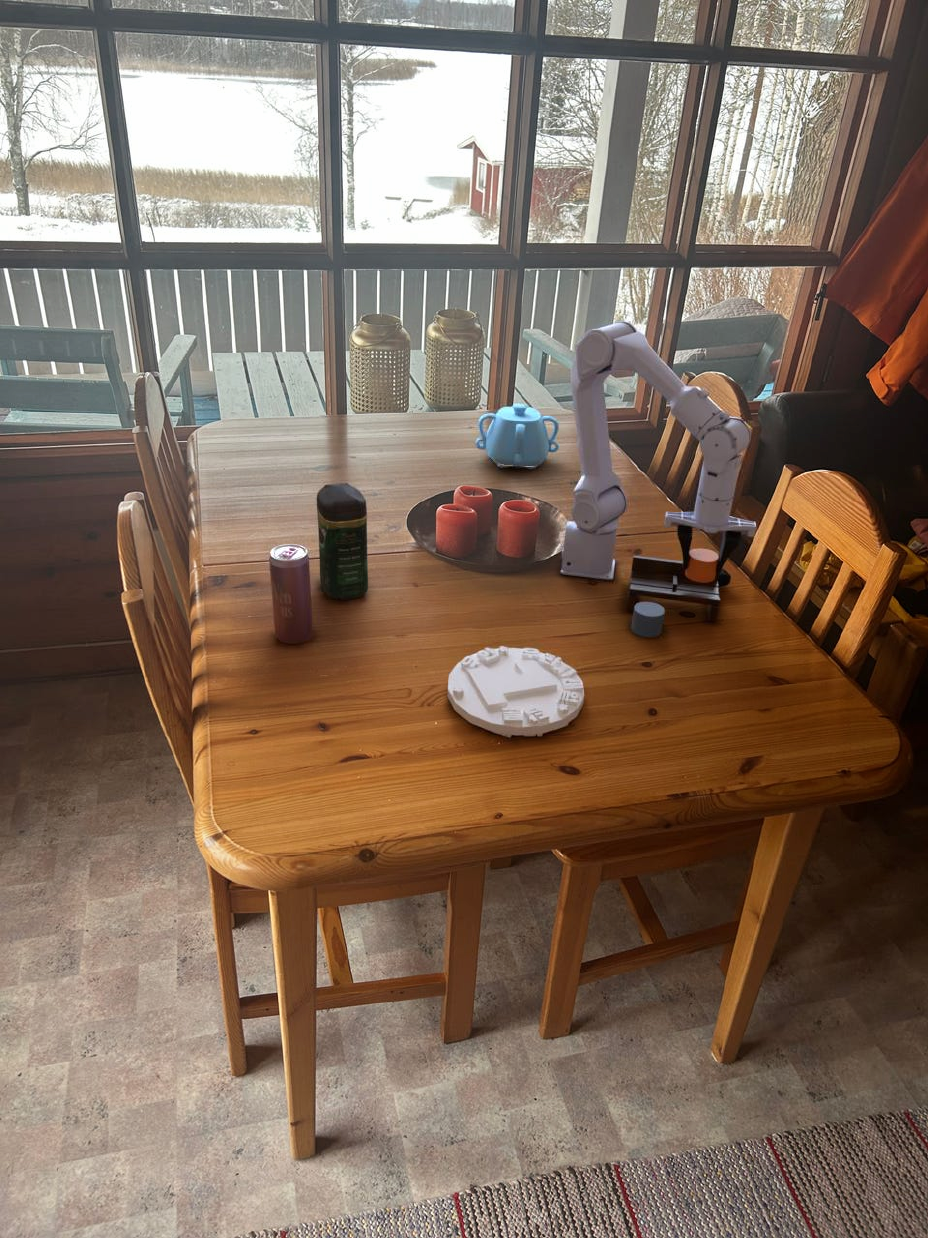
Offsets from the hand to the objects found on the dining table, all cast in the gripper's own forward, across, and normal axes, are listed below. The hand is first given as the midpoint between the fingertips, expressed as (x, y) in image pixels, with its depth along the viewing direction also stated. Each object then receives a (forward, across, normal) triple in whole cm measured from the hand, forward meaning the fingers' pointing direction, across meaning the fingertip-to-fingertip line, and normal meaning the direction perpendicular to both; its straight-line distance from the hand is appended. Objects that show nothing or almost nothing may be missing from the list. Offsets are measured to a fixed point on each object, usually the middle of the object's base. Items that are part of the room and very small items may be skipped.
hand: (701, 568), depth 155 cm
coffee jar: (+8, -60, -9) cm, 62 cm away
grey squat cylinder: (+8, -8, -10) cm, 15 cm away
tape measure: (+8, +2, +10) cm, 13 cm away
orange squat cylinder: (+1, 0, 0) cm, 1 cm away
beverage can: (+8, -63, -26) cm, 69 cm away
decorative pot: (+8, -40, +60) cm, 73 cm away
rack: (+8, -4, 0) cm, 9 cm away
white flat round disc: (+8, -26, -34) cm, 44 cm away
